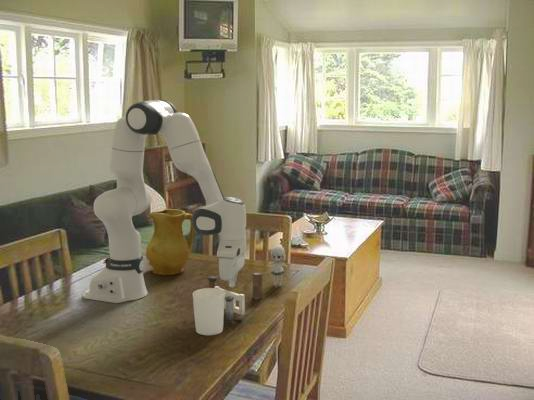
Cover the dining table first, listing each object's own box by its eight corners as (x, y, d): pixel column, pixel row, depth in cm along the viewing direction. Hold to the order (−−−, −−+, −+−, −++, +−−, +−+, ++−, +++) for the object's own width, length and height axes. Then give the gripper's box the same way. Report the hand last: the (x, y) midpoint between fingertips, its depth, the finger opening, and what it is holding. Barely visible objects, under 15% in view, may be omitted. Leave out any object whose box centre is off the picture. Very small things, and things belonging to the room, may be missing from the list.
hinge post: (207, 309, 219) (206, 278, 217) (209, 306, 222) (209, 276, 220) (215, 309, 219) (215, 279, 217) (218, 306, 221) (217, 276, 220)
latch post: (224, 323, 206) (223, 298, 205) (226, 320, 209) (226, 295, 208) (232, 323, 206) (232, 299, 204) (235, 320, 208) (234, 296, 207)
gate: (214, 305, 218) (214, 286, 217) (217, 304, 219) (217, 285, 218) (242, 315, 209) (241, 295, 208) (244, 314, 210) (244, 294, 209)
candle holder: (212, 338, 194) (212, 300, 191) (186, 332, 199) (185, 294, 197) (231, 328, 202) (231, 291, 200) (206, 322, 207) (205, 286, 205)
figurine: (262, 285, 245) (262, 246, 243) (268, 280, 251) (268, 242, 248) (288, 288, 241) (288, 248, 239) (294, 283, 247) (294, 245, 244)
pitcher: (153, 263, 274) (153, 205, 269) (196, 267, 272) (198, 208, 267) (140, 276, 258) (140, 214, 253) (186, 280, 255) (187, 218, 250)
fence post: (256, 299, 229) (256, 274, 227) (252, 298, 230) (252, 273, 229) (262, 298, 230) (262, 273, 228) (258, 296, 232) (258, 272, 230)
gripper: (231, 238, 228) (231, 276, 230) (215, 253, 208) (215, 294, 211) (249, 239, 227) (248, 277, 229) (234, 254, 207) (234, 296, 209)
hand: (232, 286), depth 220 cm, fingers closed
